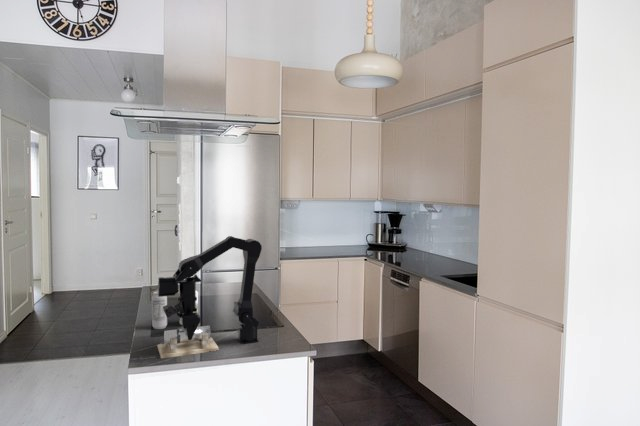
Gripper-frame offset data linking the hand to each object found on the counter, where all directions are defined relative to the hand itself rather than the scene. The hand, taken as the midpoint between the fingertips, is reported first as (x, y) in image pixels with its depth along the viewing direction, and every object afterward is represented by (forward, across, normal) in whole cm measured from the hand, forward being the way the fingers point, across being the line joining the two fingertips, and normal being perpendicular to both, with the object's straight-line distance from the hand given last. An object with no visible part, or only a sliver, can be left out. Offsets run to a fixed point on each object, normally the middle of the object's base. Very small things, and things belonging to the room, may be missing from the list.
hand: (187, 336), depth 166 cm
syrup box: (+5, -30, +5) cm, 31 cm away
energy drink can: (+5, -30, -7) cm, 31 cm away
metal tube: (+2, 0, 0) cm, 2 cm away
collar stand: (+5, 0, 0) cm, 5 cm away
